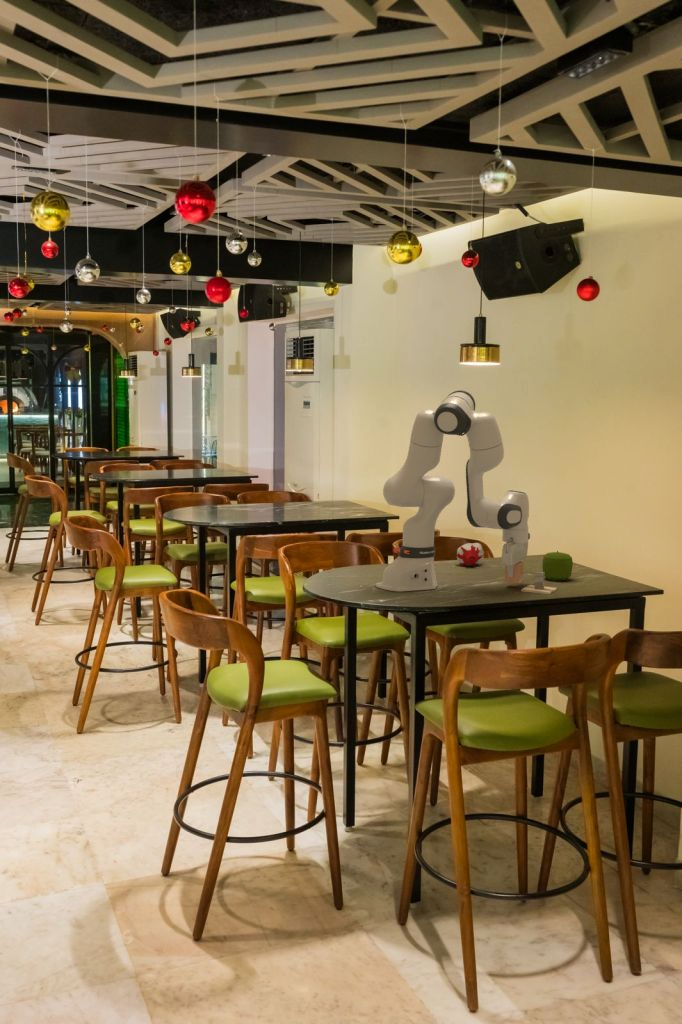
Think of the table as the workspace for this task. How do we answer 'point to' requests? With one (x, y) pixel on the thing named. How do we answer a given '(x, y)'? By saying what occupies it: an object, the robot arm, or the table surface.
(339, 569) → the table surface
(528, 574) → the table surface
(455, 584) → the table surface
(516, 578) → the salmon orange block
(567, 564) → the apple
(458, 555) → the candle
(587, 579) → the table surface
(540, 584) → the post stand
